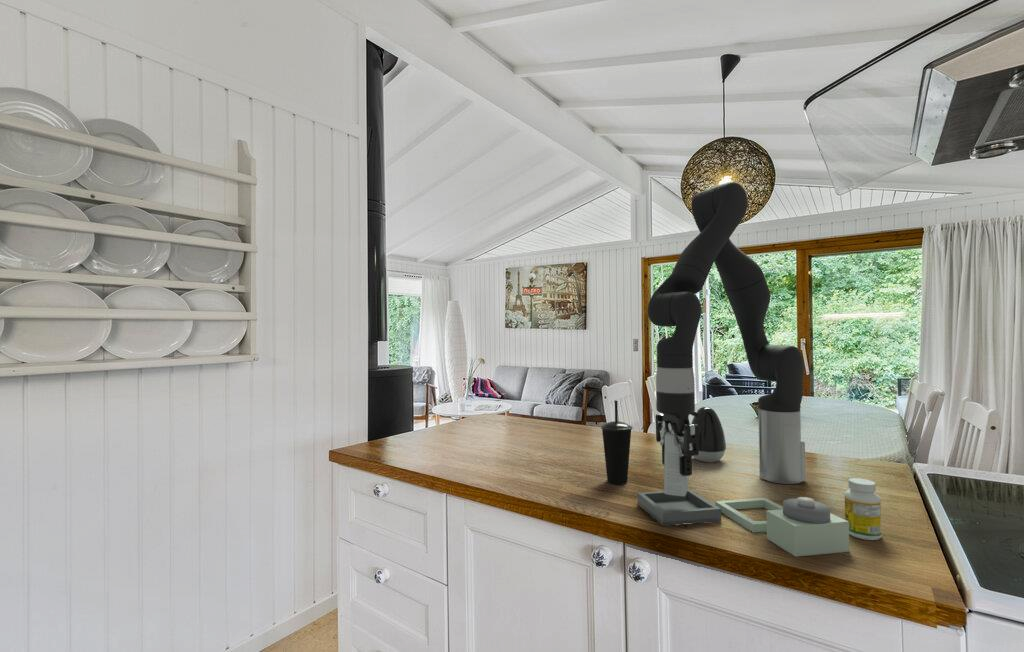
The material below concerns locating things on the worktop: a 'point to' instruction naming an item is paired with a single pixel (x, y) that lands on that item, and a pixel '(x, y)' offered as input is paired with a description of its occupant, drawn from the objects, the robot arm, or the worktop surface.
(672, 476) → the skincare box
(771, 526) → the soap dish box
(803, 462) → the robot arm
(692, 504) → the tray
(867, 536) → the supplement bottle
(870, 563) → the worktop surface
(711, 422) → the pump dispenser
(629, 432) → the drinking cup
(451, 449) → the worktop surface
